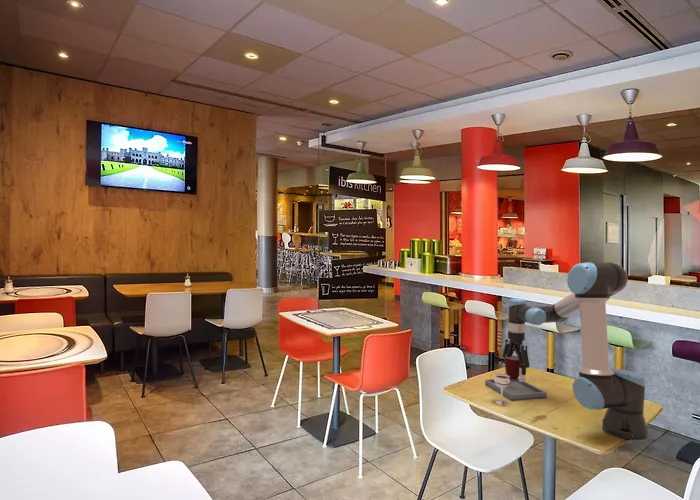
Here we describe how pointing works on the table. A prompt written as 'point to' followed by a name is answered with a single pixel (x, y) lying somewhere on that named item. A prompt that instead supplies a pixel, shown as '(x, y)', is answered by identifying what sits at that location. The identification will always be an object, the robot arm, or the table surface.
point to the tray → (517, 390)
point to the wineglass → (502, 384)
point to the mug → (512, 367)
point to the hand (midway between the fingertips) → (514, 377)
